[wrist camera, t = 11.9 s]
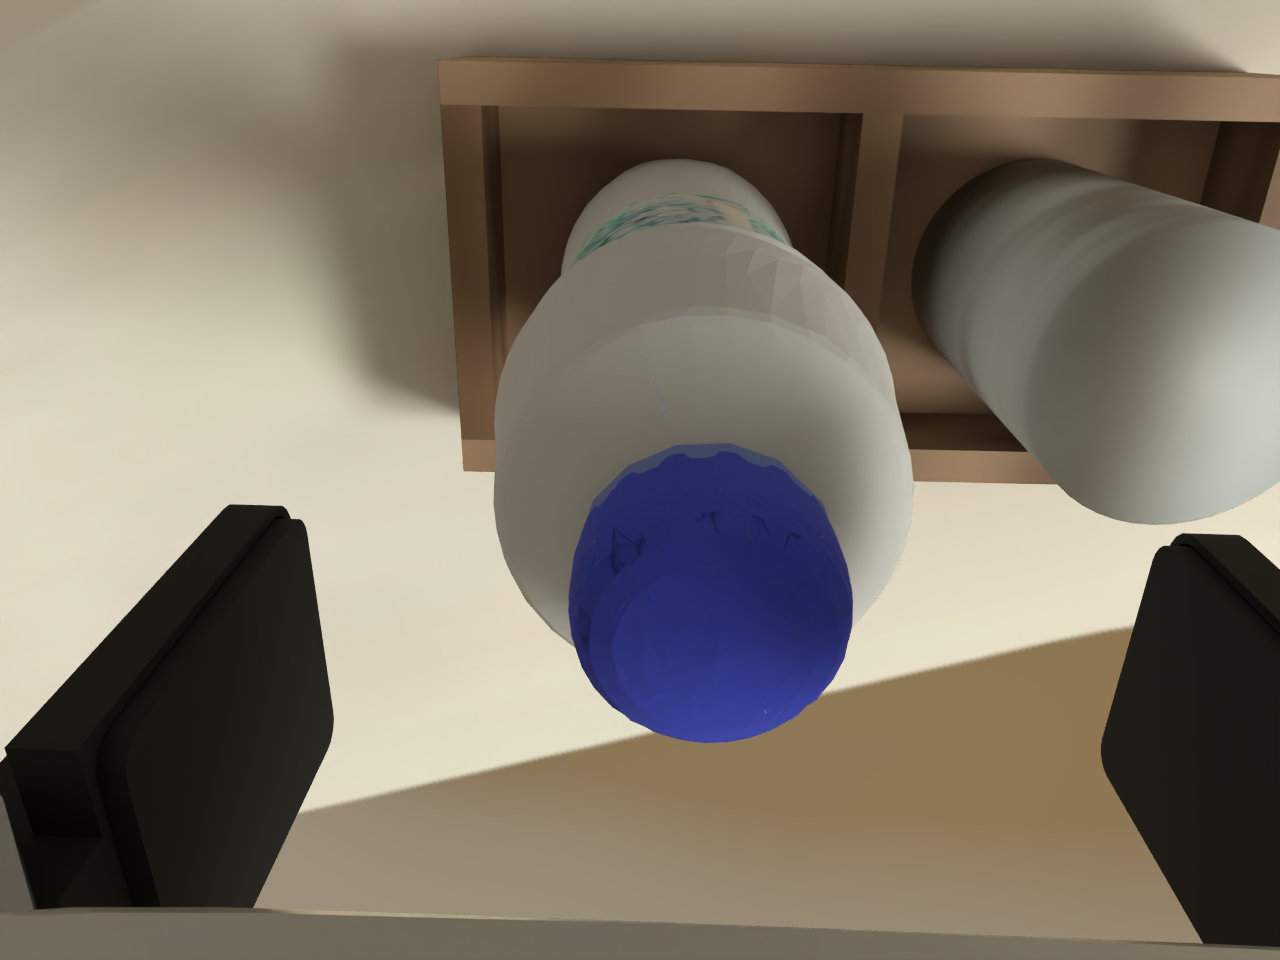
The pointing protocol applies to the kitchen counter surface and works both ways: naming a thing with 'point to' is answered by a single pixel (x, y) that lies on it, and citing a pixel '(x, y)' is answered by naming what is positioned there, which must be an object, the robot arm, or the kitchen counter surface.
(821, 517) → the bottle
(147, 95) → the kitchen counter surface
